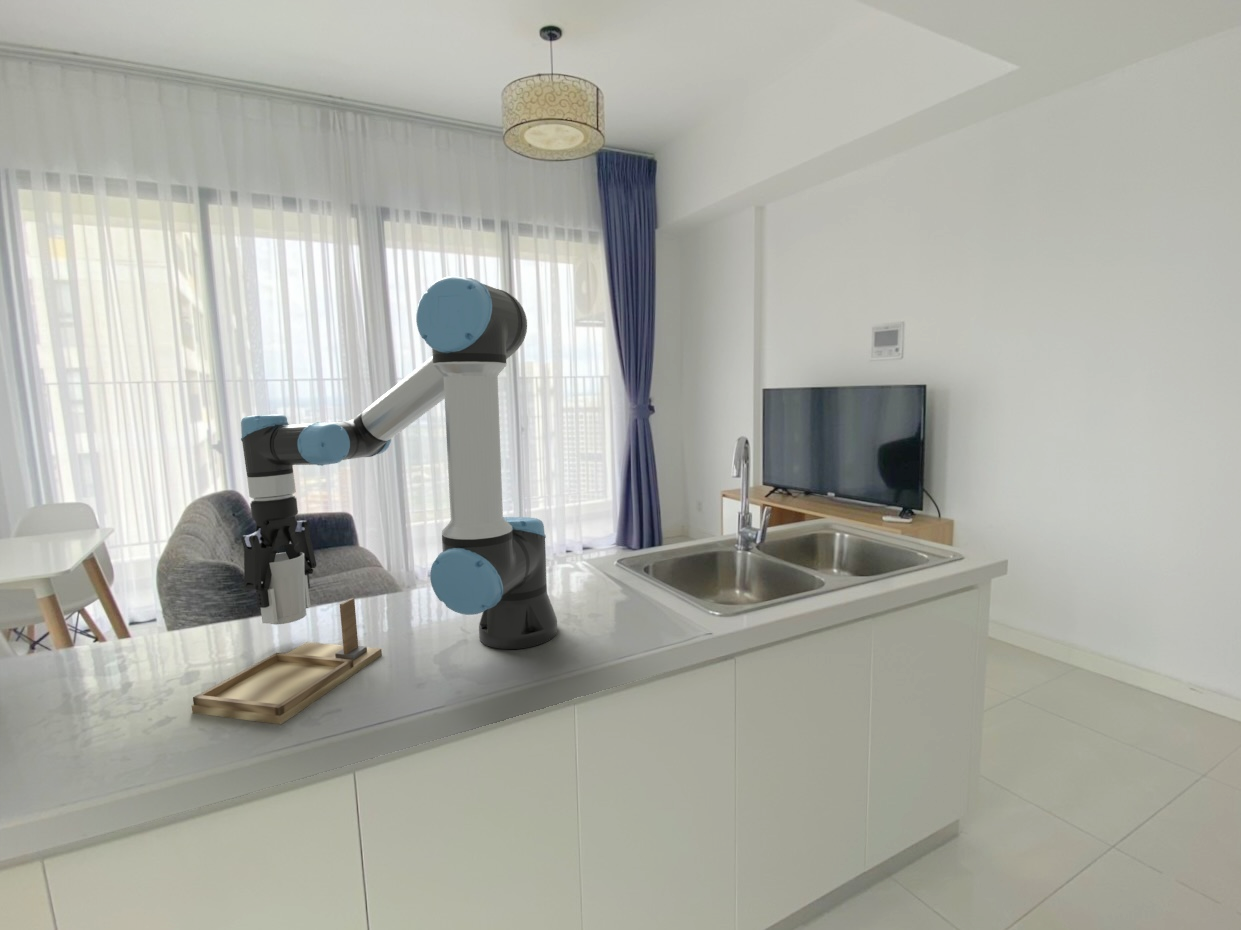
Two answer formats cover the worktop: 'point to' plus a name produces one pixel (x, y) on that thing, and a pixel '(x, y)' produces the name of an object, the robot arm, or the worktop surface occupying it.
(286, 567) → the cup
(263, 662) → the board
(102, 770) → the worktop surface
